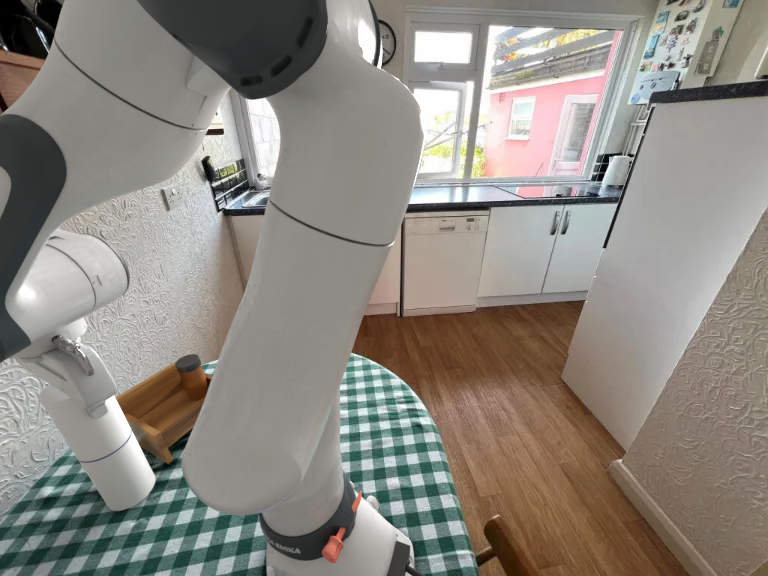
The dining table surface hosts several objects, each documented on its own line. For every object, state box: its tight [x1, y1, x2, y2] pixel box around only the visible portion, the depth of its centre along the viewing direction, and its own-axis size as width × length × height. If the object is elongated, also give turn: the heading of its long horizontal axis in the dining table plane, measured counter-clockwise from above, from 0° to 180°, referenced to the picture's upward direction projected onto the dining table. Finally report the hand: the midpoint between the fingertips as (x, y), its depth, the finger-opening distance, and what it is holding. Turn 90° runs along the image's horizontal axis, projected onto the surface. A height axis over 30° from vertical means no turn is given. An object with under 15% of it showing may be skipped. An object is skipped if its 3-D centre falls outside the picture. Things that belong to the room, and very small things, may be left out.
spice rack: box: [115, 353, 213, 465], centre depth 67 cm, size 12×16×15 cm
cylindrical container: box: [38, 384, 156, 512], centre depth 52 cm, size 7×7×25 cm
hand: (83, 404), depth 48 cm, fingers open, 8 cm apart
